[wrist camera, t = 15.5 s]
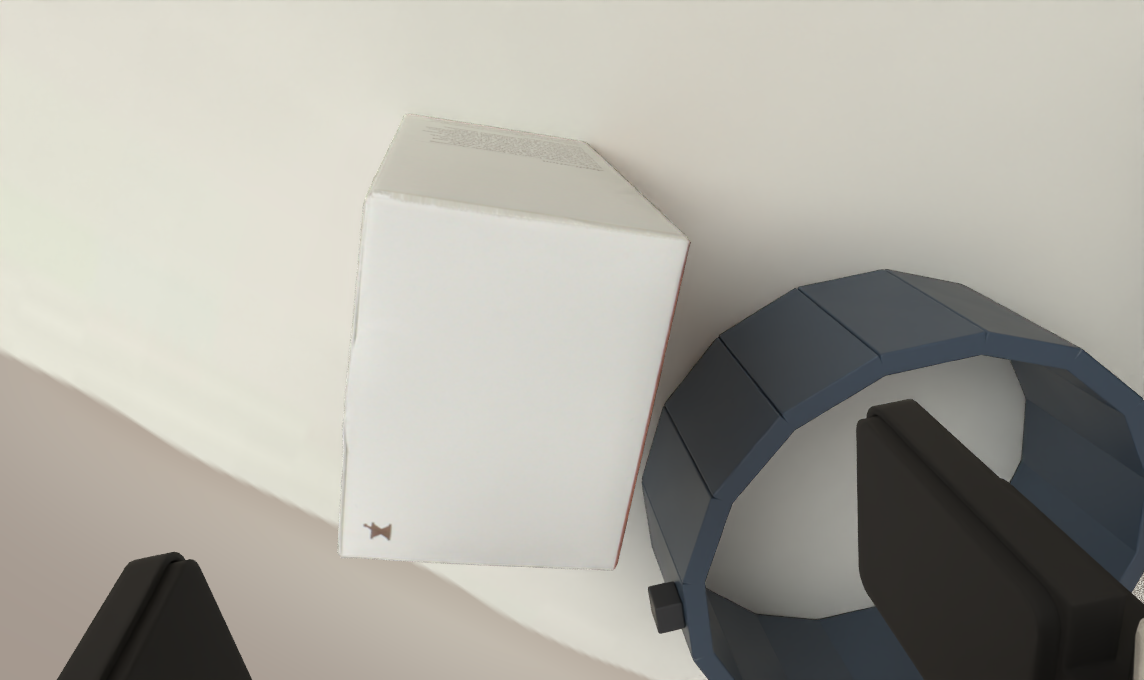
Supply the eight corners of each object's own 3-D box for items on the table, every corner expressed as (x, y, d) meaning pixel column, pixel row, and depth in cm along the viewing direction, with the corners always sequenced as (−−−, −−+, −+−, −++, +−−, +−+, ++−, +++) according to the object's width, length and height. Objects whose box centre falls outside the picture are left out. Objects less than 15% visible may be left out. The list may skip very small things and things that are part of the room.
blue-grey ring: (590, 329, 30) (623, 410, 24) (1080, 226, 31) (1230, 278, 25) (649, 672, 37) (687, 800, 31) (1046, 578, 38) (1156, 684, 32)
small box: (554, 353, 30) (618, 581, 18) (382, 335, 29) (328, 567, 17) (591, 136, 27) (699, 236, 15) (402, 106, 26) (354, 188, 14)
